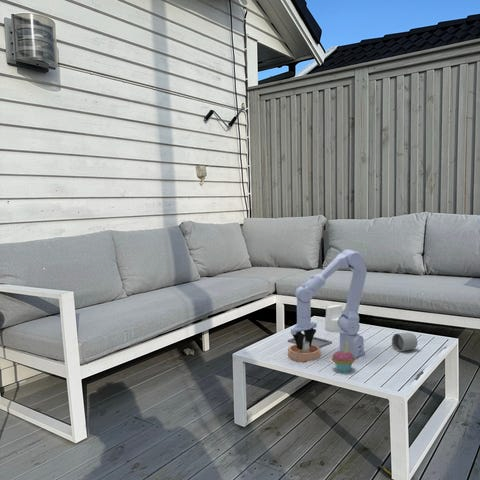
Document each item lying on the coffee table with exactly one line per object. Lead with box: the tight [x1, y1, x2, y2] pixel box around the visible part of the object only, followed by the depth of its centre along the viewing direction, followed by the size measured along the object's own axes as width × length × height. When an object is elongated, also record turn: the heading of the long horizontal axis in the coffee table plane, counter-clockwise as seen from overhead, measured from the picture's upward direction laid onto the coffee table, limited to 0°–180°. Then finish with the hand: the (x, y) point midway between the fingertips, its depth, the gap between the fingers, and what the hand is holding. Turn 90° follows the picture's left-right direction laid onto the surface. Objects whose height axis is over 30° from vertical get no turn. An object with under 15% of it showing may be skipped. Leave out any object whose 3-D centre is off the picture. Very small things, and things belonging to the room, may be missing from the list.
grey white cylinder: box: [324, 304, 343, 333], centre depth 225 cm, size 9×9×12 cm
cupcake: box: [331, 342, 356, 373], centre depth 172 cm, size 9×8×12 cm
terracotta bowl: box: [287, 343, 321, 363], centre depth 188 cm, size 13×13×4 cm
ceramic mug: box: [391, 332, 418, 352], centre depth 195 cm, size 11×8×8 cm
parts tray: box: [287, 336, 333, 349], centre depth 205 cm, size 16×12×1 cm
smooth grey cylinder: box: [298, 341, 309, 353], centre depth 188 cm, size 5×5×5 cm
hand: (304, 347), depth 188 cm, fingers open, 5 cm apart
